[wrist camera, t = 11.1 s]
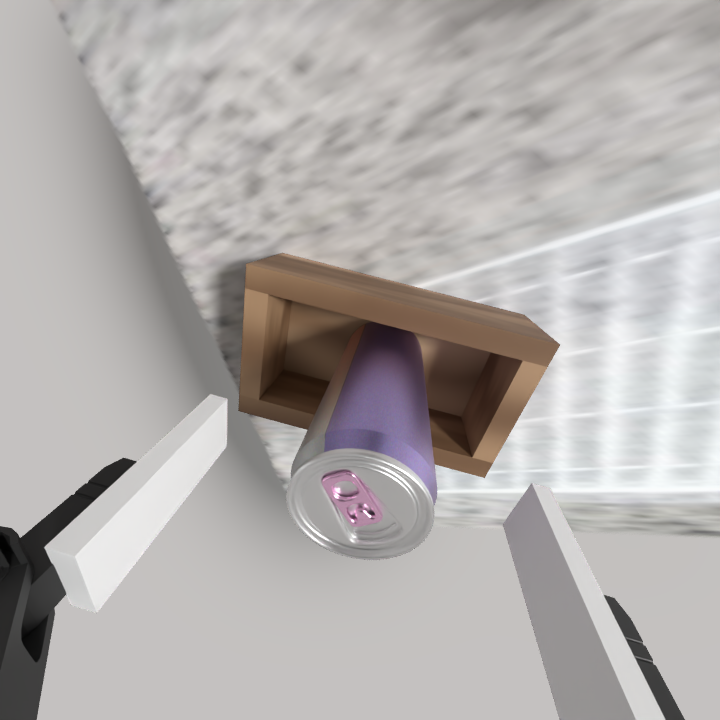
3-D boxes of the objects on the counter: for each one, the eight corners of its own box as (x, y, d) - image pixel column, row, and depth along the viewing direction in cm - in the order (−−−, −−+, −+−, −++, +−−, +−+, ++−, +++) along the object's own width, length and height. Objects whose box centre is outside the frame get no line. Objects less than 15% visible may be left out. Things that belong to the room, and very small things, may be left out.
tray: (282, 253, 24) (246, 263, 18) (524, 314, 23) (560, 344, 18) (270, 374, 28) (238, 411, 23) (469, 427, 28) (484, 477, 23)
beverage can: (402, 304, 23) (397, 428, 10) (433, 369, 25) (464, 549, 11) (335, 335, 25) (250, 476, 11) (368, 393, 27) (329, 573, 13)
